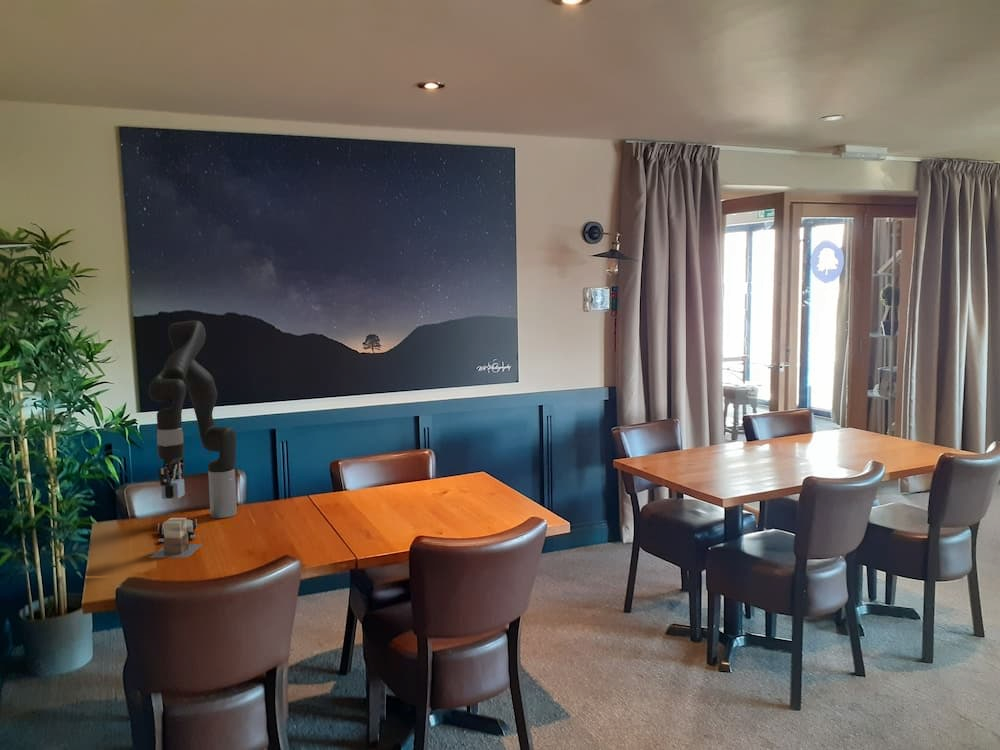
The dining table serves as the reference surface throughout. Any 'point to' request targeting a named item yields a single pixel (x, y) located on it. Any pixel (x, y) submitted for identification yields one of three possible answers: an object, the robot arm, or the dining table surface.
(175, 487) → the blue block
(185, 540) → the walnut block
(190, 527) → the robot toy
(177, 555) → the slate pad
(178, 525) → the beech block
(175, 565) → the dining table surface
